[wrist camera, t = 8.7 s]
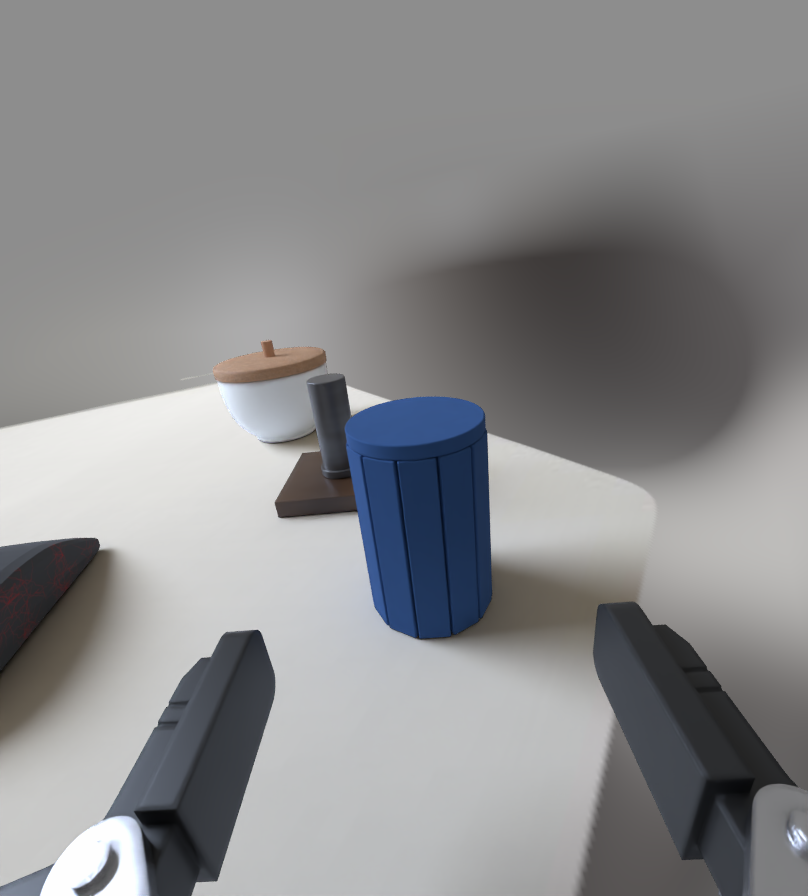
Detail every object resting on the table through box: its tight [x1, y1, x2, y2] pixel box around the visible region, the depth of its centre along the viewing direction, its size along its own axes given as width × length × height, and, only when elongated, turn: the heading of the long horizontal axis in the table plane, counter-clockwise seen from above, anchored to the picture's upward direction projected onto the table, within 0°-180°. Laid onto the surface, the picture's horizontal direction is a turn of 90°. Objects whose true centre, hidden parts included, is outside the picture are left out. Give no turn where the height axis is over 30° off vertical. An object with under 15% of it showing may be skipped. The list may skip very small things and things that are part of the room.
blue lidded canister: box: [345, 397, 492, 639], centre depth 19 cm, size 6×6×9 cm
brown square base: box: [275, 374, 357, 517], centre depth 30 cm, size 8×8×8 cm
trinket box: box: [213, 340, 328, 443], centre depth 42 cm, size 11×11×9 cm
